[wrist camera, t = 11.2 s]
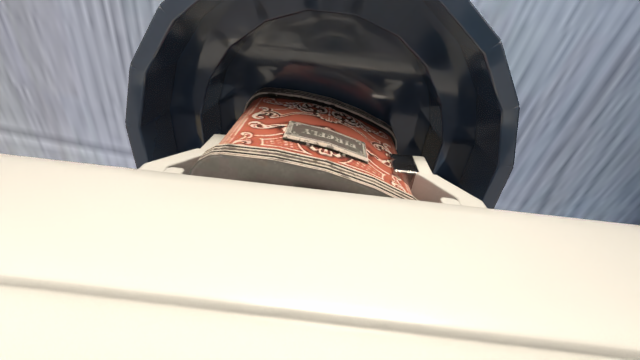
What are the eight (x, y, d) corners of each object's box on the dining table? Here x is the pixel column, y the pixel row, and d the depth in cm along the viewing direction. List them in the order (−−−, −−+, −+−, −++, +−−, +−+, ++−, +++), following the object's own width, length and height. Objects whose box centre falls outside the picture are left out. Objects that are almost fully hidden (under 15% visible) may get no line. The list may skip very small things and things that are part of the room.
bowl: (516, -26, 13) (612, -38, 8) (422, 239, 21) (445, 310, 16) (165, -61, 13) (67, -91, 9) (204, 214, 21) (164, 277, 16)
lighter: (405, 120, 16) (483, 269, 7) (380, 174, 18) (419, 344, 9) (253, 73, 15) (140, 179, 6) (243, 134, 17) (143, 281, 8)
